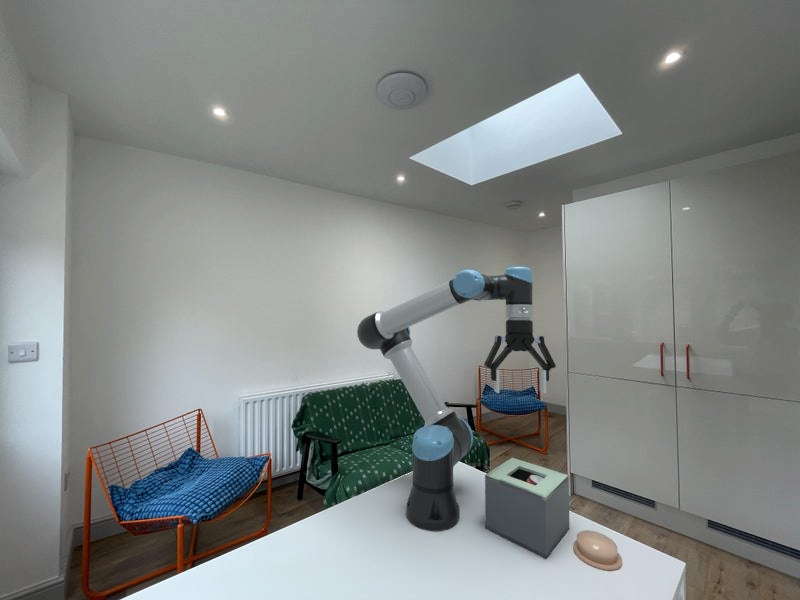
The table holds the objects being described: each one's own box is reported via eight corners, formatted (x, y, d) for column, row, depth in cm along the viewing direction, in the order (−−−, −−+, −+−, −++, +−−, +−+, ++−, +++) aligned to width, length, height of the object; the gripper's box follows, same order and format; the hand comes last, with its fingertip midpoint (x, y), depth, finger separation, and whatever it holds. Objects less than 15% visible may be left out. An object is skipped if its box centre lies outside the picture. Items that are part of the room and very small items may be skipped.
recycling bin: (485, 528, 89) (485, 475, 90) (512, 504, 101) (512, 457, 102) (546, 559, 78) (545, 497, 79) (569, 528, 90) (568, 475, 90)
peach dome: (567, 556, 80) (567, 541, 80) (580, 536, 87) (580, 523, 87) (616, 579, 73) (615, 563, 73) (626, 556, 80) (625, 541, 80)
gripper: (480, 319, 95) (480, 394, 94) (567, 319, 95) (568, 395, 94) (474, 319, 102) (474, 389, 101) (555, 319, 103) (556, 389, 102)
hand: (519, 392), depth 98 cm, fingers open, 13 cm apart
